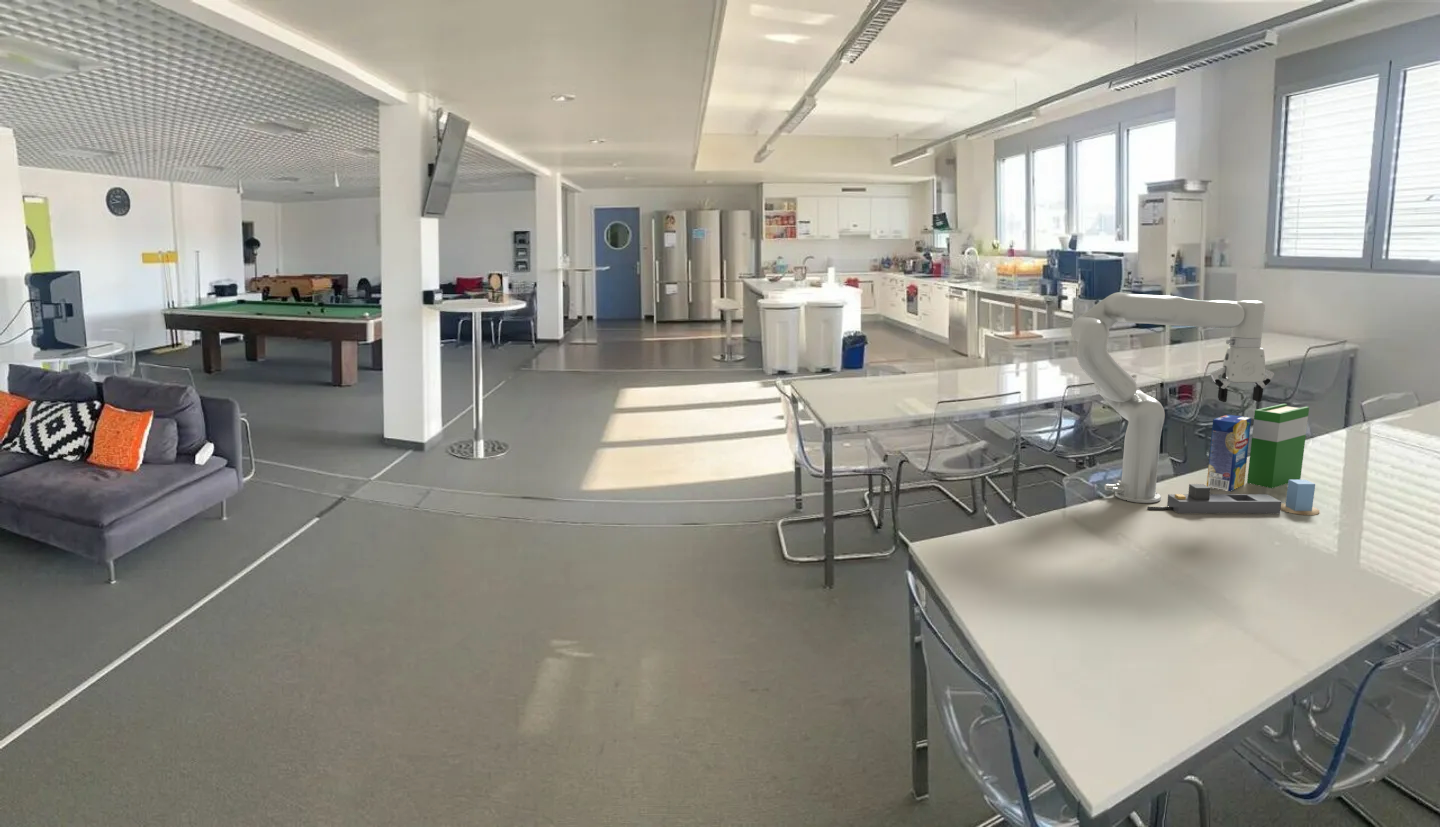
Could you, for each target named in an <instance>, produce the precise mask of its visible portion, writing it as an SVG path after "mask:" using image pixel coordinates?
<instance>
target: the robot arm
mask: <svg viewBox="0 0 1440 827" xmlns="http://www.w3.org/2000/svg"><path fill="white" fill-rule="evenodd" d="M1265 307H1266V305H1265V303H1264V302H1263V301H1262V300H1261V301H1260V300H1252V299H1250V300H1249V299H1247V300H1245V299H1244V300H1237V301H1234V300H1223V299H1215V300H1214V299H1213V300H1201V299H1200V300H1199V299H1193V298H1192V299H1191V298H1186V297H1181V296H1175V295H1174V296H1173V295H1161V294H1160V295H1159V294H1139V293H1128V292H1127V293H1125V292H1121V291H1120V292H1114V293H1112V294H1109V295H1108V296H1106V297H1105V298H1103V299H1102V300H1101V301H1099V302H1098V303H1096V304H1094V306H1092V307H1090V309H1087V311H1085V312H1084V313H1083V314H1081V315H1080V316H1078V317H1077V318H1076V319H1075V320H1074V322H1073V323H1072V324H1071V327H1070V334H1071V336H1072V338H1073V340H1075V342H1077V346H1076V357H1077V358H1076V359H1077V362H1078V365H1079V366H1080V368H1081V370H1082V371H1083V372H1085V373H1086V375H1087V376H1088V377H1089V378H1090V379H1091V381H1093V384H1094V388H1095V390H1096V392H1097V393H1098V394H1099V395H1100V397H1102V398H1103V400H1104V401H1106V402H1107V403H1108V404H1109V406H1111V408H1113V410H1115V411H1116V413H1118V415H1120V417H1122V418H1123V419H1125V420H1126V421H1128V423H1127V427H1126V431H1125V436H1124V443H1123V445H1124V446H1123V456H1122V457H1123V458H1122V469H1121V480H1117V482H1116V483H1114V484H1112V483H1104V490H1105V491H1111V492H1113V493H1114V496H1115V497H1116V498H1118V499H1120V500H1123V501H1126V500H1127V501H1126V502H1132V503H1137V504H1138V503H1139V504H1153V503H1157V502H1160V501H1161V500H1162V496H1161V494H1160V493H1158V492H1156V490H1157V480H1158V469H1159V457H1160V454H1159V453H1160V444H1161V436H1162V430H1163V427H1164V423H1165V416H1166V414H1165V408H1164V407H1163V405H1162V403H1161V402H1160V401H1159V400H1158V399H1156V398H1154V397H1152V396H1151V395H1148V394H1146V393H1145V392H1143V391H1142V390H1141V388H1139V387H1138V386H1137V381H1136V380H1135V379H1134V377H1133V376H1132V375H1131V373H1129V372H1128V371H1126V370H1125V369H1124V368H1123V366H1121V365H1120V364H1119V363H1118V362H1117V361H1116V360H1115V358H1113V356H1112V355H1111V354H1110V353H1109V351H1108V341H1109V339H1110V338H1109V337H1110V328H1112V327H1113V326H1114V325H1116V324H1118V323H1119V322H1120V323H1124V324H1125V323H1128V324H1129V323H1130V324H1146V325H1147V324H1149V325H1162V326H1175V327H1178V326H1179V327H1198V328H1213V329H1214V328H1215V329H1231V334H1230V338H1229V339H1226V341H1225V344H1226V345H1229V347H1227V349H1226V352H1225V354H1224V358H1223V363H1222V367H1221V368H1219V369H1216V370H1215V371H1213V372H1210V376H1211V379H1212V380H1213V381H1212V382H1213V383H1214V384H1215V385H1216V387H1217V388H1218V392H1217V399H1218V401H1220V402H1222V403H1227V399H1228V393H1229V392H1228V390H1229V389H1228V388H1227V387H1228V386H1229V385H1230V384H1231V383H1233V384H1235V383H1236V384H1243V383H1244V384H1247V383H1248V384H1249V383H1250V384H1251V383H1252V384H1254V385H1255V386H1254V387H1253V392H1252V400H1253V401H1254V402H1255V401H1256V402H1258V403H1260V402H1261V401H1262V399H1263V393H1264V389H1265V388H1266V387H1267V385H1269V383H1271V380H1272V379H1273V378H1274V376H1275V373H1274V372H1273V371H1271V370H1269V369H1267V368H1266V357H1265V350H1264V348H1263V347H1261V346H1262V338H1263V337H1262V336H1263V328H1264V321H1265V320H1264V318H1265V311H1266V310H1265V309H1266V308H1265ZM1220 375H1221V380H1220V379H1219V378H1220V377H1219V376H1220Z"/></svg>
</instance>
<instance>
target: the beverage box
mask: <svg viewBox="0 0 1440 827" xmlns="http://www.w3.org/2000/svg"><path fill="white" fill-rule="evenodd" d="M1251 425H1252V417H1249V416H1242V415H1241V416H1240V415H1234V414H1233V415H1232V414H1225V415H1222V416H1220V417H1216V418H1214V419H1212V427H1211V438H1210V448H1209V457H1208V467H1207V478H1206V486H1208V487H1212V488H1211V489H1214V488H1218V489H1217V490H1219V489H1223V490H1222V491H1224V490H1227V491H1226V492H1229V491H1230V492H1232V491H1234V489H1235V490H1237V489H1239V488H1241V487H1243V486H1244V485H1245V481H1246V471H1247V469H1246V468H1247V462H1248V461H1247V460H1248V454H1249V442H1250V433H1251ZM1242 485H1243V486H1242ZM1240 486H1241V487H1240ZM1238 487H1239V488H1238ZM1236 488H1237V489H1236ZM1231 490H1232V491H1231Z"/></svg>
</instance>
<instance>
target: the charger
mask: <svg viewBox="0 0 1440 827" xmlns="http://www.w3.org/2000/svg"><path fill="white" fill-rule="evenodd" d="M1315 489H1316V483H1314V482H1312V481H1309V480H1307V479H1300V480H1288V483H1287V490H1286V491H1287V492H1286V498H1285V503H1286V505H1285V506H1287V507H1288V508H1290V509H1292V510H1294V511H1312V507H1314V506H1313V505H1314V504H1313V503H1314V498H1315Z"/></svg>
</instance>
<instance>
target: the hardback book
mask: <svg viewBox="0 0 1440 827" xmlns="http://www.w3.org/2000/svg"><path fill="white" fill-rule="evenodd" d="M1309 412H1310V406H1302V407H1293V406H1288V403H1280V404H1276V405H1271V406H1268V407H1263V408H1259V409H1258V408H1257V409H1255V410H1254V418H1253V426H1252V433H1251V434H1252V436H1251V441H1250V442H1251V443H1250V452H1249V462H1248V472H1247V480H1246V483H1247V484H1249V483H1251V484H1250V485H1254V484H1255V485H1254V486H1258V485H1260V486H1259V487H1263V486H1264V487H1265V488H1268V489H1274V488H1277V487H1281V486H1284V485H1286V484H1287V485H1288V480H1302V478H1301V477H1302V469H1303V461H1304V453H1305V444H1306V438H1307V427H1308V420H1309Z"/></svg>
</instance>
